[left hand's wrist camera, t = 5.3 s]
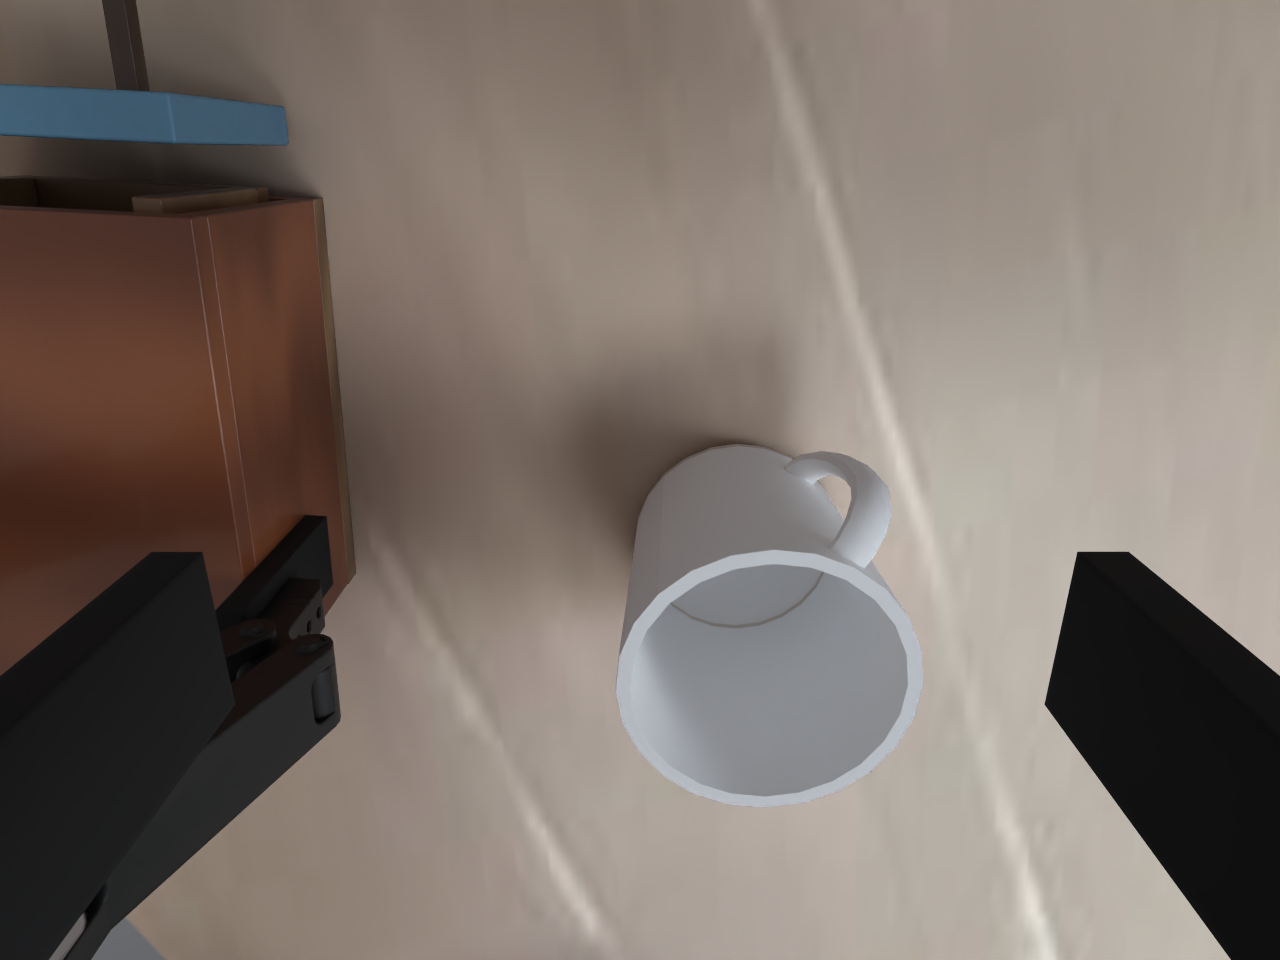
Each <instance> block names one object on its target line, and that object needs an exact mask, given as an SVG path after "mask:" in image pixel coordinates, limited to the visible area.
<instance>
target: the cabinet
mask: <svg viewBox="0 0 1280 960" xmlns="http://www.w3.org/2000/svg"><path fill="white" fill-rule="evenodd" d="M305 515H317V516H327V524H328V534H329V544H330V554H331V564H332V574H333V583H334V584H333V585H332V587H331V588H330V589H329V591H328V592H327V594H326V595H325V596H324V598H323V599H322V600H323V610H324V617H325V615H326V614H327V612H328V611H329V610H330V608H331V607H332V605H333V604H334V602H335V601H336V600H337V598H338V597H339V595H340V594H341V592H342V591H343V589H344V588H345V587H346V585H347V584H349V582H350V581H351V579H352V578H353V577H354V575H355V574H356V568H355V557H354V545H353V534H352V523H351V512H350V500H349V489H348V478H347V466H346V455H345V444H344V433H343V421H342V410H341V399H340V387H339V376H338V365H337V354H336V342H335V331H334V320H333V308H332V297H331V286H330V275H329V263H328V252H327V241H326V229H325V218H324V207H323V198H297V197H277V196H269V202H263V203H255V204H248V205H240V206H233V207H225V208H218V209H210V210H203V211H196V212H188V213H181V214H165V213H145V212H125V211H105V210H85V209H64V208H44V207H24V206H4V205H0V676H1V675H2V674H3V673H5V672H6V671H7V670H8V669H9V668H11V667H12V666H13V665H14V664H15V663H17V662H18V661H19V660H20V659H22V658H23V657H24V656H25V655H26V654H28V653H29V652H30V651H31V650H33V649H34V648H35V647H36V646H37V645H39V644H40V643H41V642H42V641H43V640H45V639H46V638H47V637H48V636H50V635H51V634H52V633H53V632H54V631H56V630H57V629H58V628H59V627H61V626H62V625H63V624H64V623H65V622H67V621H68V620H69V619H70V618H71V617H73V616H74V615H75V614H76V613H78V612H79V611H80V610H81V609H82V608H84V607H85V606H86V605H87V604H89V603H90V602H91V601H92V600H93V599H95V598H96V597H97V596H98V595H99V594H101V593H102V592H103V591H104V590H106V589H107V588H108V587H109V586H110V585H112V584H113V583H114V582H115V581H117V580H118V579H119V578H120V577H121V576H123V575H124V574H125V573H126V572H128V571H129V570H130V569H131V568H132V567H134V566H135V565H136V564H137V563H138V562H140V561H141V560H142V559H143V558H145V557H146V556H147V555H148V554H149V553H151V552H203V557H204V561H205V566H206V571H207V575H208V580H209V584H210V589H211V594H212V598H213V603H214V608H215V610H216V609H217V608H218V607H219V606H220V605H221V604H222V603H223V602H224V601H225V599H226V598H227V597H228V596H229V595H230V594H231V593H232V592H233V591H234V590H235V589H236V588H237V587H238V586H239V585H240V584H241V582H242V581H243V580H245V579H246V578H247V577H248V576H249V575H250V573H251V572H252V571H253V570H254V569H255V568H256V567H257V566H258V565H259V564H260V563H261V562H262V561H263V560H264V559H265V558H266V556H267V555H268V554H269V553H270V552H271V551H272V550H273V549H274V548H275V547H276V546H277V545H278V544H279V543H280V542H281V540H282V539H283V538H284V537H285V536H286V535H287V534H288V533H289V532H290V531H291V530H292V529H293V528H294V527H295V526H296V524H297V523H298V522H299V521H300V520H301V519H302V518H303V517H304V516H305Z"/></svg>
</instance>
